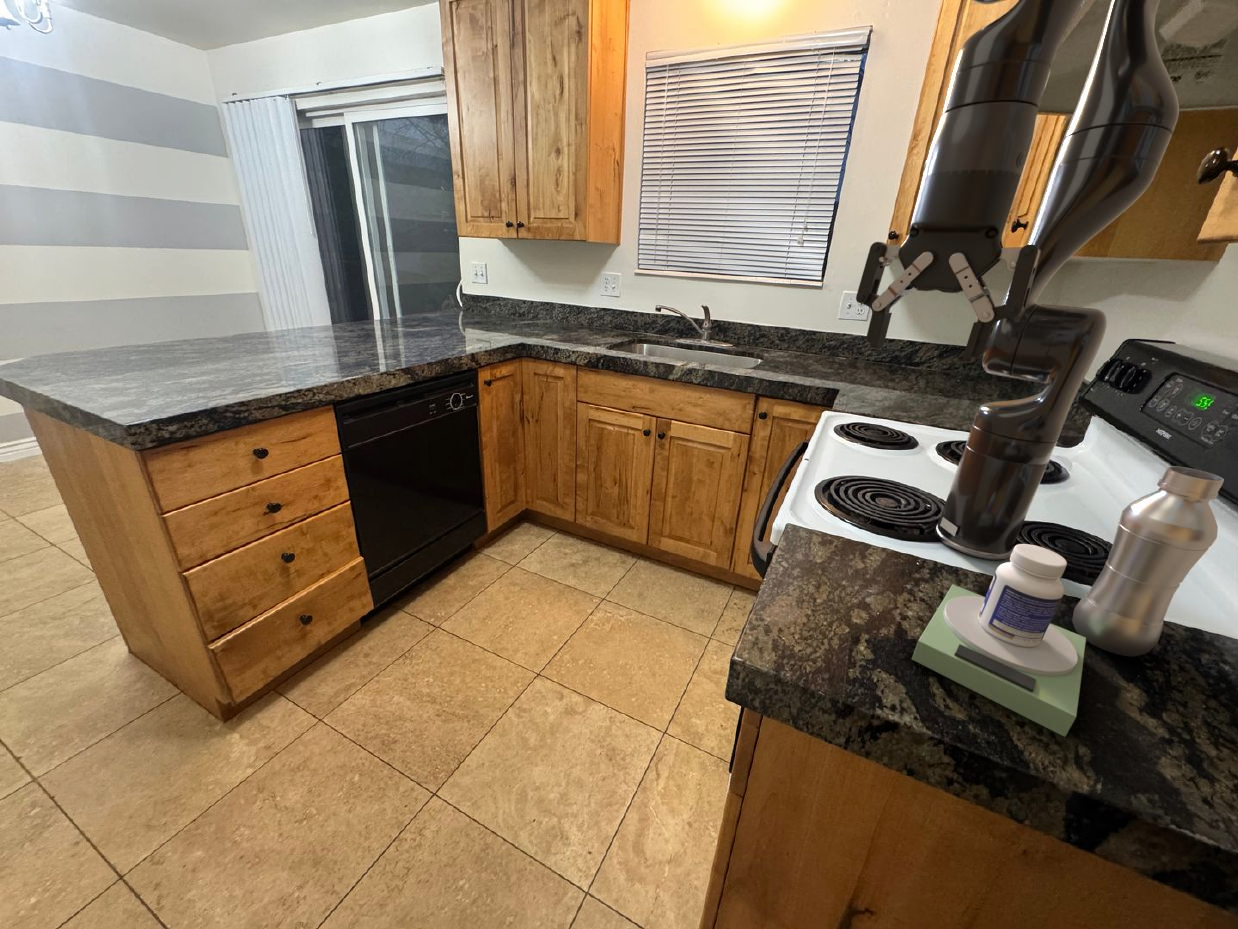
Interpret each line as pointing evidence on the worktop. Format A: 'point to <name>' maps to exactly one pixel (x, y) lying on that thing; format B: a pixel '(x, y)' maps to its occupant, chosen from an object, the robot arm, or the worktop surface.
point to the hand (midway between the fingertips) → (919, 354)
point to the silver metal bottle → (1149, 562)
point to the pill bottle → (1024, 596)
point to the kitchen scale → (1005, 662)
